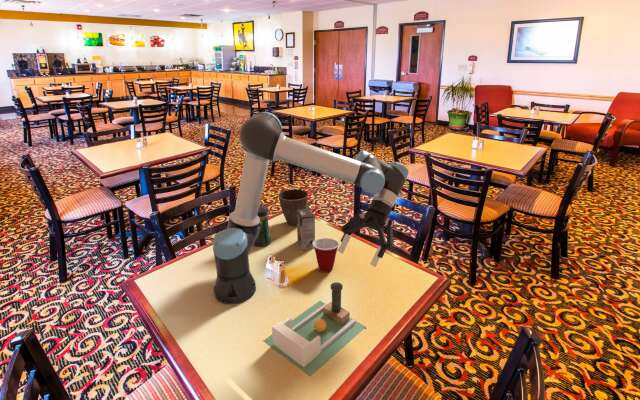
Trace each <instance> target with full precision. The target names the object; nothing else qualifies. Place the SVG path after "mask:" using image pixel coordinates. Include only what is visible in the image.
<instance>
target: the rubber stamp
mask: <svg viewBox="0 0 640 400" xmlns="http://www.w3.org/2000/svg"><path fill="white" fill-rule="evenodd" d="M330 290H331V301H330V302H328V303H326V304H327V305H326V306H324V307H323V315H325V316H326V317H328V318H330V319H331V320H333V321H335V322H336V323H338V324H340V325H341V326H342V325H343V324H344V323H346V322H347V321H348V320H349V318H351V315H350V311H349V310H347V309H345V308H343V307H342V290H343V284H342V283H341V282H339V281H338V282H335V281H334V282H331V284H330Z"/></svg>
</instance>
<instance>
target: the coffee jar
mask: <svg viewBox="0 0 640 400" xmlns="http://www.w3.org/2000/svg"><path fill="white" fill-rule="evenodd" d="M257 216H258V217H259V218H260V223H259V235H258V237H257V239H256V241H255V242H254V244H253V246H254V247H266V246H268V245H270V244H271V241H272V237H271V230H270V225H269V216H270V211H269V207H268V205H259V209H258V214H257ZM253 246H252V247H253Z"/></svg>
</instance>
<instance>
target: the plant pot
mask: <svg viewBox="0 0 640 400" xmlns="http://www.w3.org/2000/svg"><path fill="white" fill-rule="evenodd" d="M277 197H278V200H279V204H280V208H281V211H282V214H283V217H284V219H285V221H286V223H287V225H288V226H291V227H297V214H296V210H299V209H307V207H308V201H309V193H308V192H307V190H303V189H298V188H297V189H292V188H291V189H286V190H283V191H281V192H280V193H278V196H277Z"/></svg>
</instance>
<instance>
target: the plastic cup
mask: <svg viewBox="0 0 640 400" xmlns="http://www.w3.org/2000/svg"><path fill="white" fill-rule="evenodd" d="M312 244H313V246H314V248H313V249H314V252H315V256H316V257H315V258H316V263H317V266H318V270H319V271H320V272H322V273H330V272H331V271H333V270H334V266H335V261H336V256H337V251H338V249H339V247H340V242H339V241H338V240H336V239H334V238H329V237H321V238H317V239H315V241H313V243H312Z"/></svg>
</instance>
